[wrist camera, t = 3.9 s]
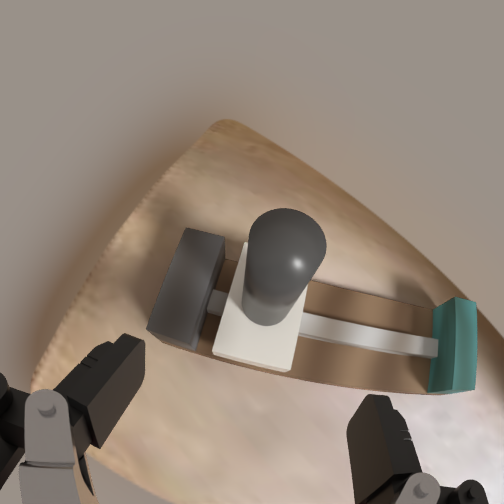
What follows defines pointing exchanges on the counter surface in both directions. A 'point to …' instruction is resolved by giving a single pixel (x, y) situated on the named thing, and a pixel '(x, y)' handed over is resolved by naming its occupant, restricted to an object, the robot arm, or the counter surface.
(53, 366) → the counter surface
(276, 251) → the carriage
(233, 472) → the counter surface
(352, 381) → the rail
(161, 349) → the counter surface
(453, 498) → the robot arm
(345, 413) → the counter surface
